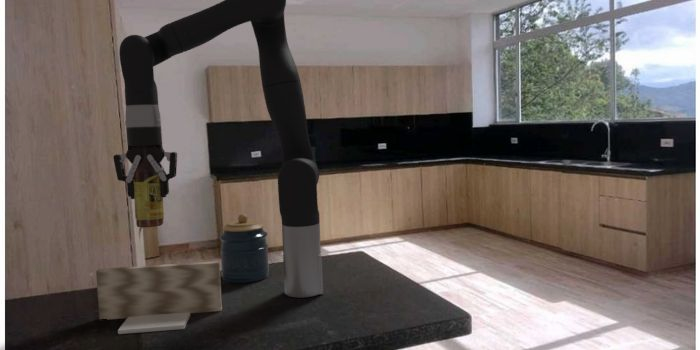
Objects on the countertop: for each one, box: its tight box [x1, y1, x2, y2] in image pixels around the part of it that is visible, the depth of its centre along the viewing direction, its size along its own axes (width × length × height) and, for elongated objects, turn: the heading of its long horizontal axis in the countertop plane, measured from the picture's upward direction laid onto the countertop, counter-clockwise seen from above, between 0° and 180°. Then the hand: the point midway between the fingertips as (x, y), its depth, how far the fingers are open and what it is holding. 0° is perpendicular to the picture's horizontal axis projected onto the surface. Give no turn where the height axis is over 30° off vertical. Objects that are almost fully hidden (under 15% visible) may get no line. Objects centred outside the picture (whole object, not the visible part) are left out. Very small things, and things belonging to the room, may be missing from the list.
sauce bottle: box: [133, 146, 165, 228], centre depth 124 cm, size 7×6×20 cm
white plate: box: [117, 312, 191, 335], centre depth 113 cm, size 13×8×1 cm, turn 98°
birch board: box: [95, 260, 223, 320], centre depth 119 cm, size 26×2×11 cm, turn 98°
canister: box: [219, 213, 270, 284], centre depth 148 cm, size 13×13×18 cm
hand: (148, 197), depth 125 cm, fingers closed on sauce bottle, 6 cm apart
